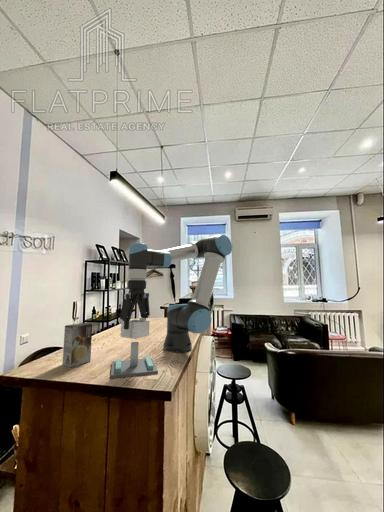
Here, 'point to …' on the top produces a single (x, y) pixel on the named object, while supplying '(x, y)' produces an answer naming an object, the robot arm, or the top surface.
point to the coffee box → (77, 344)
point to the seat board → (132, 369)
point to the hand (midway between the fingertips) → (135, 335)
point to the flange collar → (137, 328)
